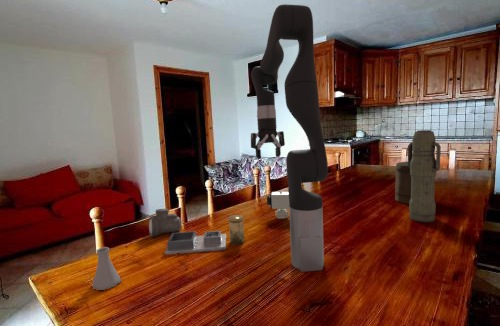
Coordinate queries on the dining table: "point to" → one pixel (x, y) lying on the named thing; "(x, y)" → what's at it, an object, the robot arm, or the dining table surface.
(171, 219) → the pipe fitting
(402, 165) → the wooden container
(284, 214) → the pneumatic valve
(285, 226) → the dining table surface
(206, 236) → the plate
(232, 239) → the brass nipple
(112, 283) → the flask
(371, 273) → the dining table surface
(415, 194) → the thermos
